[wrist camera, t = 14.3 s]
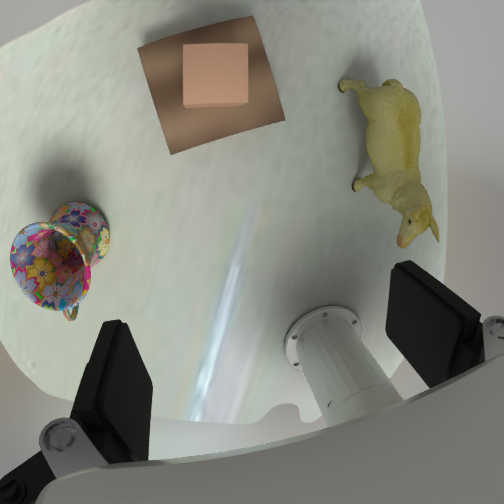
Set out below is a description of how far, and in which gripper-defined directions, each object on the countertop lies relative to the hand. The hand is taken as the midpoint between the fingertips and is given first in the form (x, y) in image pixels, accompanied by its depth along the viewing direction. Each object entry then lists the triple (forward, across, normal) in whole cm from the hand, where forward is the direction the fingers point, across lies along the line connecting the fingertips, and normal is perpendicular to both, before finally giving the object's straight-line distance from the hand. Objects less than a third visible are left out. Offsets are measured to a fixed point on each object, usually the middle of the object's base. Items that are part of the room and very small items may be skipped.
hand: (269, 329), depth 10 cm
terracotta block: (+24, -1, -11) cm, 26 cm away
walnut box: (+29, -1, -11) cm, 31 cm away
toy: (+29, -19, -2) cm, 34 cm away
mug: (+28, +18, +4) cm, 34 cm away
